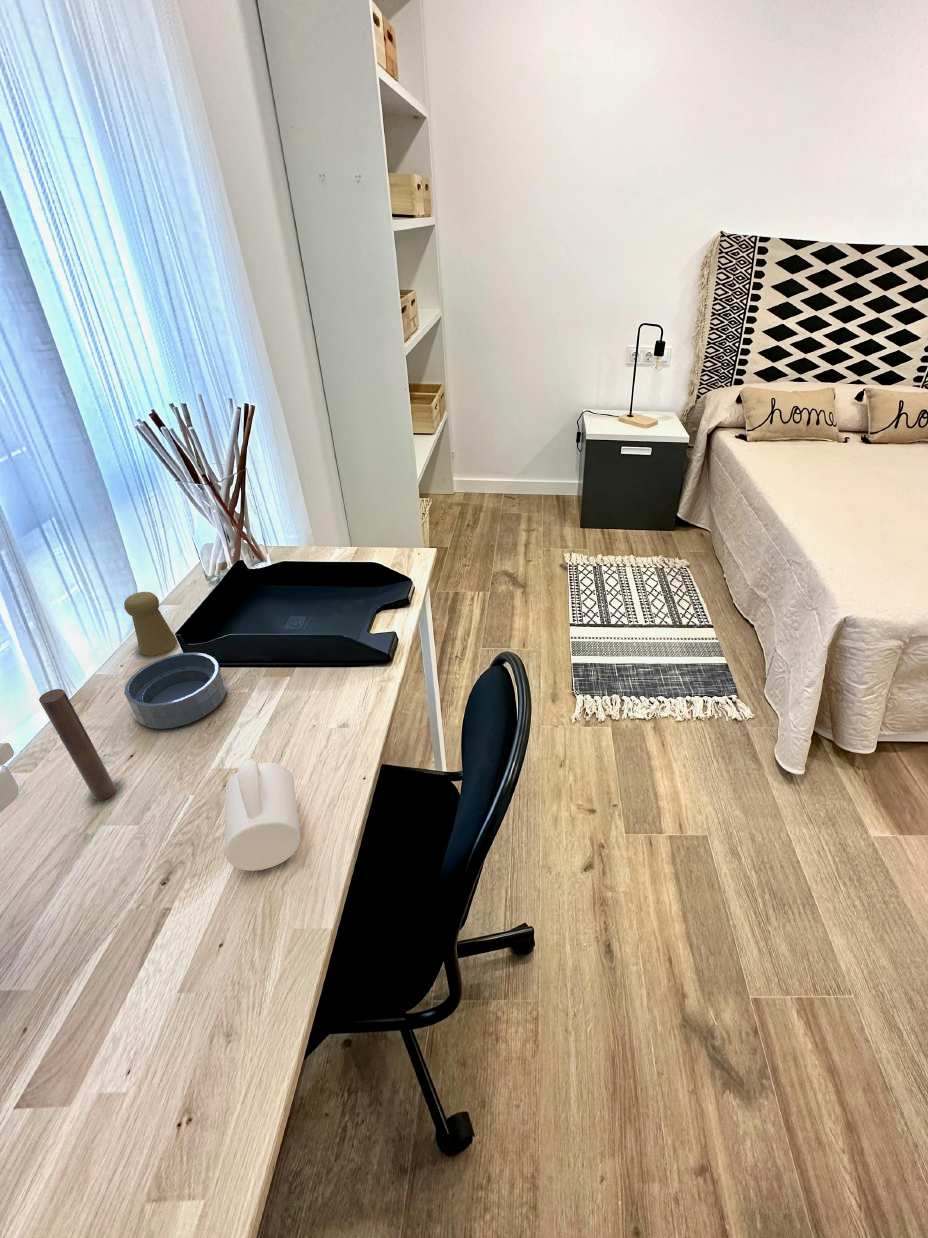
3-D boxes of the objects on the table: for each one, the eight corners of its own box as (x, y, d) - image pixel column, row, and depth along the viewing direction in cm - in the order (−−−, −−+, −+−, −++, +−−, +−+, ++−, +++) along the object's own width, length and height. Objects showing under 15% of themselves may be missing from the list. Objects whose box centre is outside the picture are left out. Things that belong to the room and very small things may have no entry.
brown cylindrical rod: (90, 801, 84) (34, 703, 74) (99, 786, 86) (46, 689, 76) (111, 799, 84) (57, 701, 74) (119, 785, 86) (68, 687, 77)
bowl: (121, 735, 94) (108, 709, 91) (156, 680, 105) (145, 655, 102) (212, 728, 96) (203, 702, 93) (237, 674, 107) (228, 649, 104)
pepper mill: (172, 632, 117) (154, 583, 111) (180, 647, 113) (161, 597, 107) (136, 644, 114) (115, 594, 108) (143, 660, 110) (121, 609, 104)
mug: (234, 880, 74) (207, 816, 68) (234, 815, 82) (209, 752, 76) (306, 856, 77) (286, 793, 71) (299, 795, 85) (280, 733, 79)
